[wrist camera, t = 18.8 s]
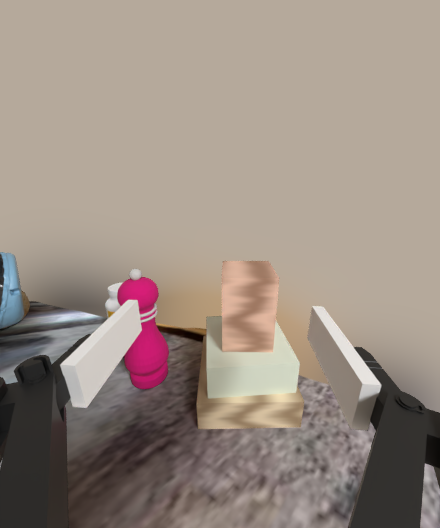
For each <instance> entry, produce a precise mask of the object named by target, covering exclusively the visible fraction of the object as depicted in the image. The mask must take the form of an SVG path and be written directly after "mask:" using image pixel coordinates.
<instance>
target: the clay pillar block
mask: <svg viewBox="0 0 440 528" xmlns="http://www.w3.org/2000/svg"><path fill="white" fill-rule="evenodd" d="M278 286H279V277H278V276H277V274H276V272H275V271H274V269H273V267H272V266H271V264H270V263H269V261H223V266H222V352H273V347H274V335H275V323H276V311H277V298H278Z"/></svg>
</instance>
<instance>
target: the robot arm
mask: <svg viewBox="0 0 440 528" xmlns="http://www.w3.org/2000/svg"><path fill="white" fill-rule="evenodd" d="M23 316H24V307H23V300H22V293H21V287H20V281H19V275H18V269H17V263H16V259H15V256H14V255H13V254H11V253H3V252H0V329H1V328H4V327H7V326H10V325H13V324H16V323H18V322H19V321H20V320H21V319H22V318H23ZM141 331H142V327H141V320H140V313H139V306H138V300H127V301H126V302H125V303H124V304H123V305H122V306H121V307H120V308H119V309H118V310H117V311H116V312H115V313H114V314H113V315H112V316H111V317H109V318H108V319H107V320H106V321H105V322H104V323H103V324H102V325H101V326H100V327H99V328H98V329H97V330H96V331H95V332H94V333H93V334H88V335H86V336H84V337H83V338H81V339H79V340H78V341H77V342H76V343H75V344H74V345H73V347H71V348H70V349H68V351H66V352H65V353H64V354H63V355H62V356H61V357H60V358H59V359H58V360H56V361H55V362H54V363H53V364H52V365H51V362H50V359H49V356H46V355H39V356H35V357H32V358H30V359H27V360H26V361H24V362H22V363H21V364H20V365H18V366H17V367H16V369H15V370H14V373H15V376H16V378H17V381H18V382H16V383H11V384H6V383H5V381H4V379H3V378H1V377H0V462H1V460H2V458H3V460H2V464H1V469H0V528H68V481H67V429H66V408H65V404H66V403H67V402H68V401H69V399H71V402H72V406H73V407H81V408H87V407H88V405H89V404H90V403H91V401H92V400H93V398H94V397H95V396H96V394H97V393H98V391H99V390H100V389H101V387H102V386H103V384H104V383H105V382H106V380H107V379H108V377H109V376H110V374H111V373H112V372H113V370H114V369H115V367H116V366H117V365H118V363H119V362H120V360H121V359H122V358H123V356H124V355H125V353H126V352H127V351H128V349H129V348H130V346H131V345H132V344H133V342H134V341H135V339H136V338H137V337H138V335H139V334H140V332H141ZM308 340H309V342H310V344H311V347H312V349H313V351H314V353H315V355H316V357H317V359H318V361H319V363H320V366H321V368H322V370H323V372H324V374H325V376H326V378H327V380H328V383H329V385H330V387H331V389H332V391H333V393H334V395H335V397H336V399H337V402H338V404H339V406H340V408H341V410H342V412H343V414H344V416H345V419H346V421H347V423H348V425H349V427H350V429H353V430H366V431H368V428H369V425H370V422H371V423H372V424H373V426H374V428H375V430H376V433H375V436H374V439H373V442H372V445H371V450H370V453H369V457H368V460H367V463H366V467H365V470H364V474H363V477H362V481H361V484H360V488H359V491H358V495H357V498H356V502H355V505H354V509H353V512H352V515H351V519H350V522H349V526H348V528H420V520H421V506H422V493H423V479H424V466H425V463H426V464H429V465H431V466H434V470H435V473H436V477H437V480H438V484H439V487H440V413H439V412H435V411H432V410H429V409H426V408H425V406H424V405H423V404H422V403H421V402H420V401H419V400H417V399H416V398H415V397H413V396H411V395H409V394H407V393H405V392H402V391H400V389H399V388H398V387H397V386H396V384H395V383H394V382H393V381H392V380H391V378H390V377H389V376H388V375H387V373H386V372H385V371H384V370H383V369H382V367H381V366H380V365H379V364H378V363H377V361H376V360H375V359H374V357H373V356H372V355H371V354H370V353H369V352H367V351H366V350H365V349H363V348H362V347H353V346H352V345H351V343H350V342H349V341H348V339H347V338H346V337H345V336H344V334H343V333H342V331H341V330H340V329H339V327H338V326H337V325H336V323H335V322H334V321H333V319H332V318H331V317H330V315H329V314H328V313H327V311H326V310H325V308H324V307H322V306H312V310H311V317H310V324H309V331H308Z"/></svg>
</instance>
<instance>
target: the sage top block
mask: <svg viewBox="0 0 440 528" xmlns="http://www.w3.org/2000/svg"><path fill="white" fill-rule="evenodd" d="M299 365H300V362H299V361H298V359H297V357H296V355H295V354H294V352H293V350H292V348H291V347H290V345H289V343H288V341H287V339H286V337H285V336H284V334H283V332H282V330H281V328H280V327H279V325H278V323H277V321H276V323H275V335H274V347H273V352H222V316H213V317H207V391H208V398H223V397H239V396H254V395H269V394H284V393H296V390H297V381H298V373H299Z"/></svg>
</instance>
